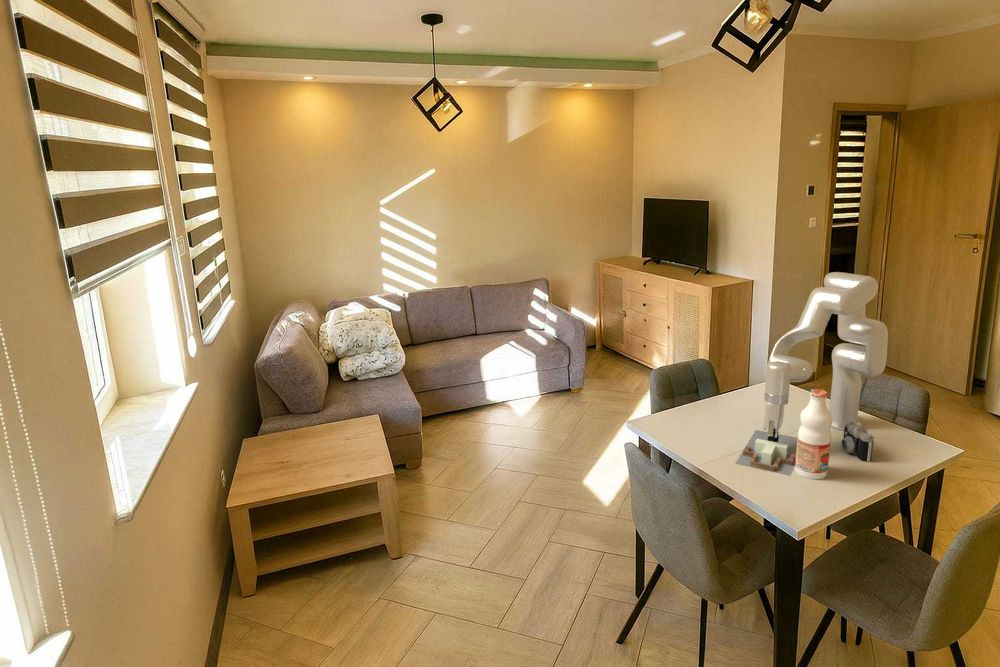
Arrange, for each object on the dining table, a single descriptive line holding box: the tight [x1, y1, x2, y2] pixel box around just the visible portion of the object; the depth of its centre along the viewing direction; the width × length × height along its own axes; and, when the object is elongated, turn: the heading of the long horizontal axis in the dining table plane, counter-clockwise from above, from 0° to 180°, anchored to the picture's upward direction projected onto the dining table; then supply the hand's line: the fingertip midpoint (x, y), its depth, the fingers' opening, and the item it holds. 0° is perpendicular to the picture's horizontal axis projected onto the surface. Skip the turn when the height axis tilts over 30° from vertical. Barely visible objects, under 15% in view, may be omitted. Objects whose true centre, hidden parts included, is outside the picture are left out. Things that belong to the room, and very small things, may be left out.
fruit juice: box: [794, 388, 832, 480], centre depth 192 cm, size 9×9×28 cm
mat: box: [734, 429, 797, 477], centre depth 211 cm, size 31×17×1 cm, turn 146°
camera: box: [841, 421, 875, 463], centre depth 207 cm, size 15×7×10 cm, turn 176°
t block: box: [754, 439, 788, 465], centre depth 206 cm, size 10×10×4 cm
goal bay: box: [742, 444, 795, 473], centre depth 204 cm, size 13×15×2 cm
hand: (772, 446), depth 212 cm, fingers closed
